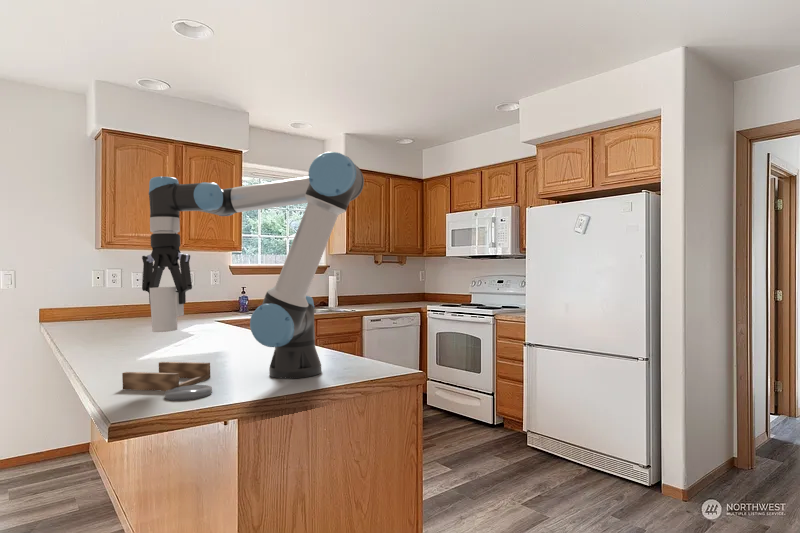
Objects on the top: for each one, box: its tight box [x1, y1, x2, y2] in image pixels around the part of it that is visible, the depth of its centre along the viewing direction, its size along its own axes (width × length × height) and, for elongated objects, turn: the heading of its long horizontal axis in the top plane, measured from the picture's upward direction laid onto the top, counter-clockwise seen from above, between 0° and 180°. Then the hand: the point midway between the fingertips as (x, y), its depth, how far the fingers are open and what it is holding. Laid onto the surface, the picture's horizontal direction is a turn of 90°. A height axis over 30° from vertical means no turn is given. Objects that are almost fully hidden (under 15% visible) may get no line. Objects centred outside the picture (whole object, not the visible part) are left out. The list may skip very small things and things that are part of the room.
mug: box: [149, 286, 178, 333], centre depth 142 cm, size 10×7×12 cm, turn 4°
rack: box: [121, 361, 211, 392], centre depth 142 cm, size 16×16×4 cm
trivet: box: [164, 384, 213, 402], centre depth 129 cm, size 11×11×1 cm
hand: (167, 316), depth 142 cm, fingers closed on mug, 7 cm apart
